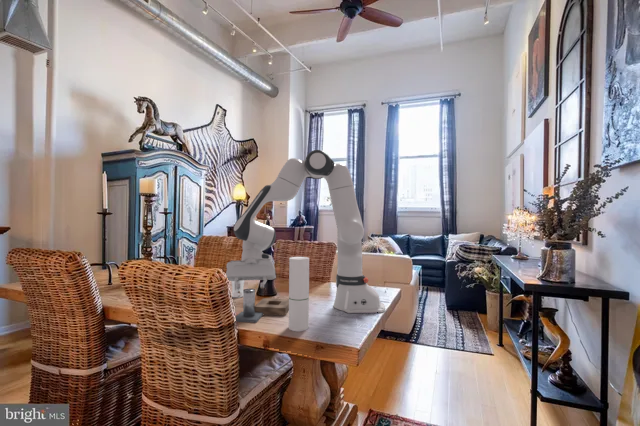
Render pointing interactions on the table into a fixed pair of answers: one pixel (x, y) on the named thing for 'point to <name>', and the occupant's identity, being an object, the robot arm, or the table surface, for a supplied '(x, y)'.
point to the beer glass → (237, 292)
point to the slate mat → (249, 319)
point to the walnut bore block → (273, 306)
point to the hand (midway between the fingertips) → (250, 288)
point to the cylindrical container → (298, 293)
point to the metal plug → (249, 302)
